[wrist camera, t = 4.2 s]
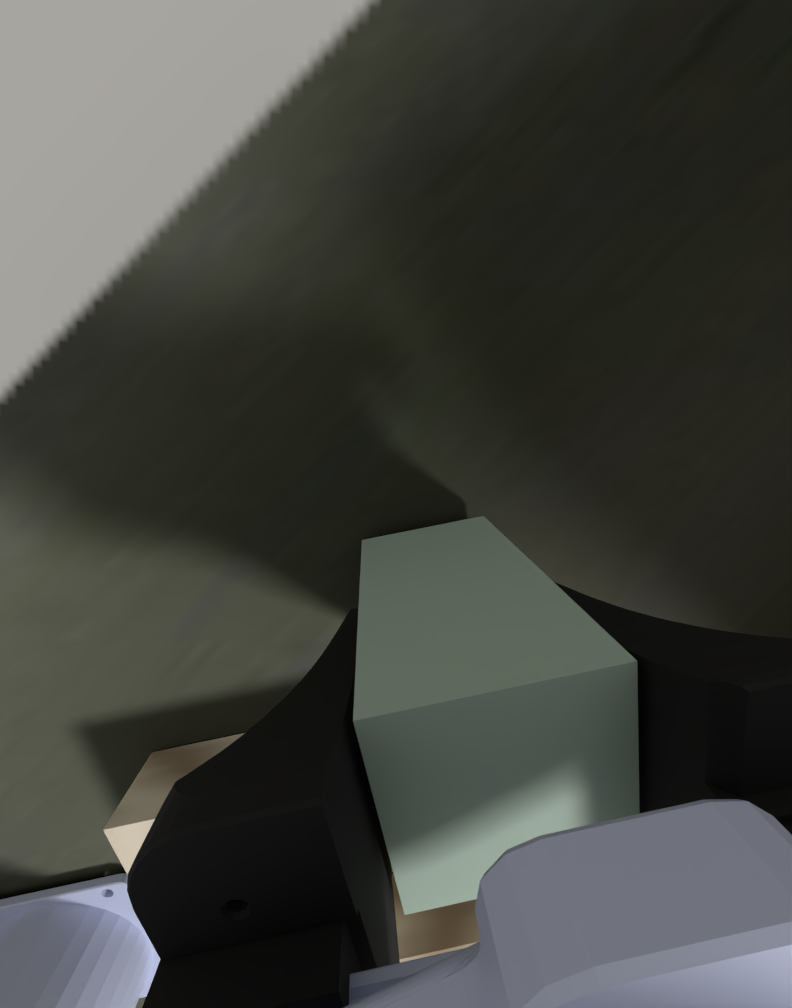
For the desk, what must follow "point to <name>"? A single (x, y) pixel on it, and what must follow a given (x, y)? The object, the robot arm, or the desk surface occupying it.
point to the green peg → (483, 707)
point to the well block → (167, 766)
